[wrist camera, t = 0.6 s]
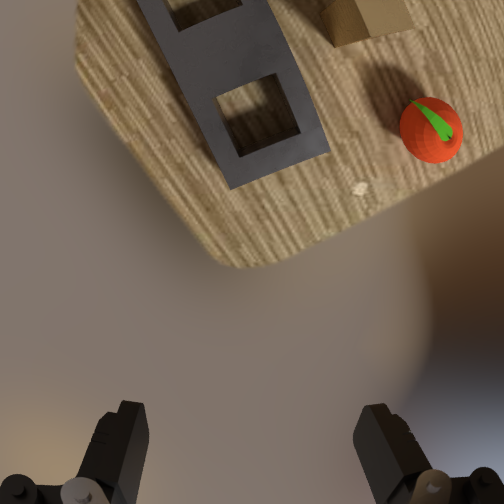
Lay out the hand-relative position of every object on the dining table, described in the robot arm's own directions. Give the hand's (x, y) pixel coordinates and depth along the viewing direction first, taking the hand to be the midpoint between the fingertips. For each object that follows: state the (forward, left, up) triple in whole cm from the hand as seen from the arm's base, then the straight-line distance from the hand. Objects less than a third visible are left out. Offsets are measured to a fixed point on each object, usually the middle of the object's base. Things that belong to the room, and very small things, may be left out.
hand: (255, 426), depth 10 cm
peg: (-12, +16, -27) cm, 33 cm away
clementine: (0, +20, -27) cm, 34 cm away
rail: (-13, +4, -27) cm, 30 cm away
